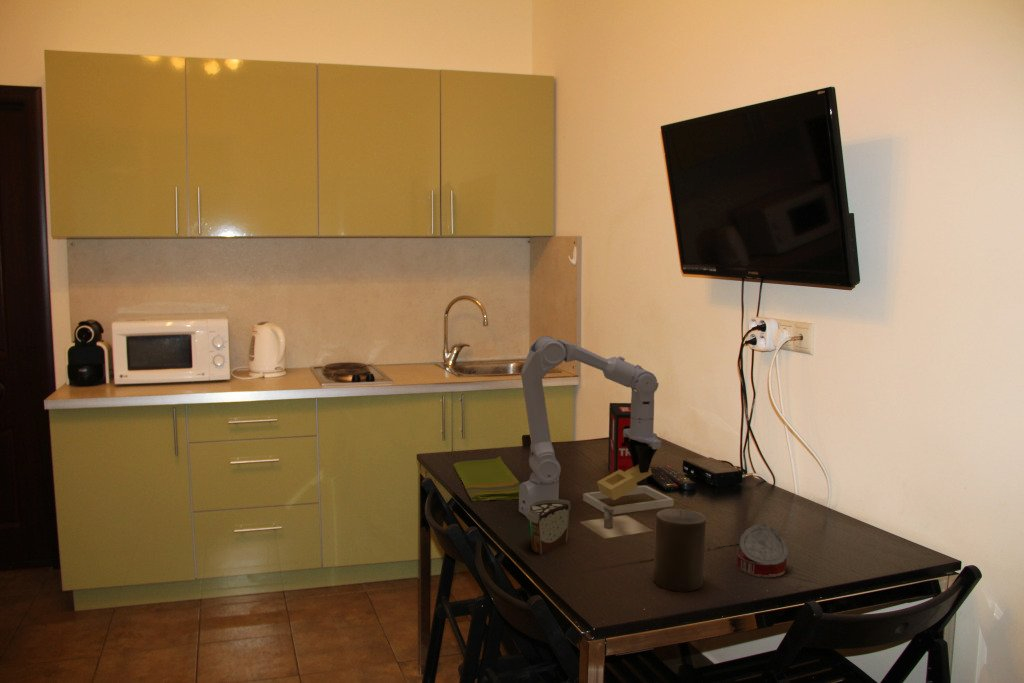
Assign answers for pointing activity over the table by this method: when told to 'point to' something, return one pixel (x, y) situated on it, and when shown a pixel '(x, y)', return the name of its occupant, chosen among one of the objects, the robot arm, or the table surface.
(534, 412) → the robot arm
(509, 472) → the dish towel
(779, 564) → the canned food
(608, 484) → the tabbed collar
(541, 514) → the food container
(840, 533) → the table surface
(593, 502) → the tray
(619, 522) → the board
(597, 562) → the table surface
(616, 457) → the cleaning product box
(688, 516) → the pillar candle
